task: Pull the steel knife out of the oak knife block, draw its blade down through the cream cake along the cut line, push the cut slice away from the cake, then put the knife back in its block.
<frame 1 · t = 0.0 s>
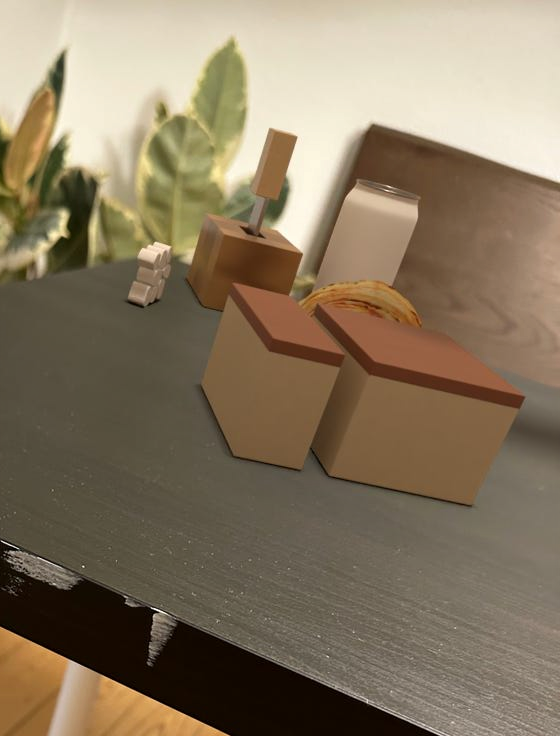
can: (335, 330, 88), on the table
croissant: (339, 372, 75), on the table
knife block: (231, 301, 87), on the table
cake: (328, 441, 59), on the table
knife: (256, 220, 84), in the knife block
marshmallow: (144, 303, 79), on the table
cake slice: (265, 371, 56), point 3 cm above the table, slide at 0.0 cm
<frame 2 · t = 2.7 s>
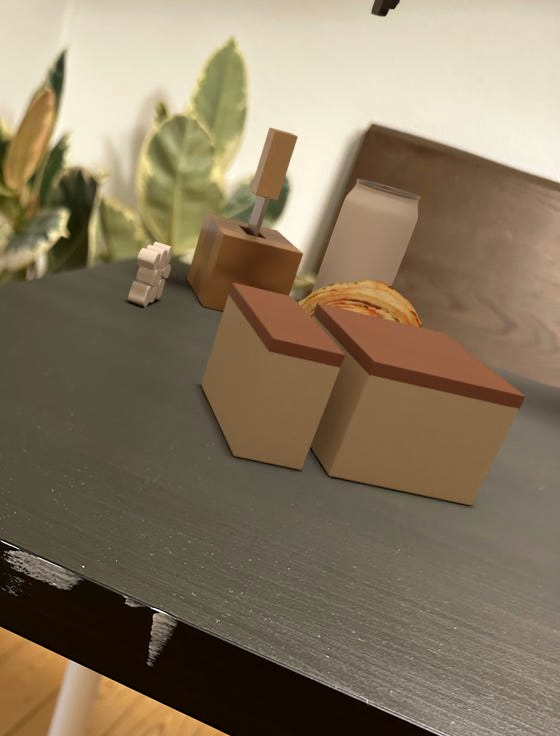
nothing on the table moved.
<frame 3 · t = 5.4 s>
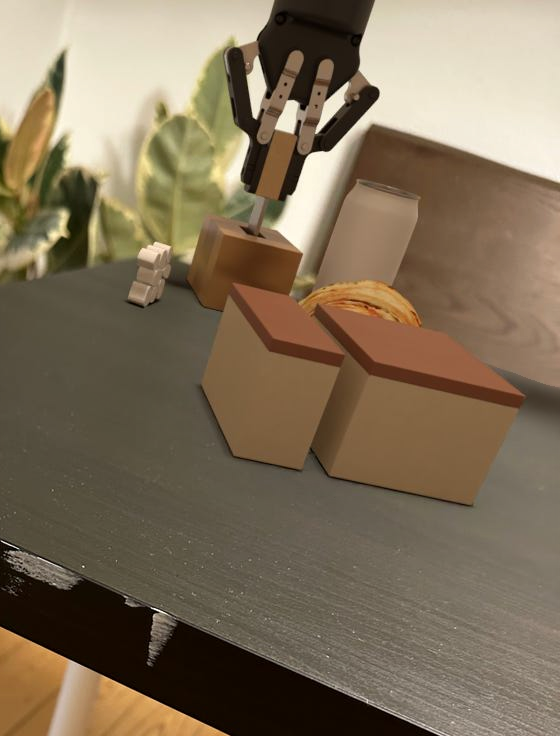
hand: (264, 194, 83), 9 cm above the table, tool pointing down, fingers closed on knife, 2 cm apart
knife: (256, 220, 84), in the knife block, touching gripper
everything else where it was.
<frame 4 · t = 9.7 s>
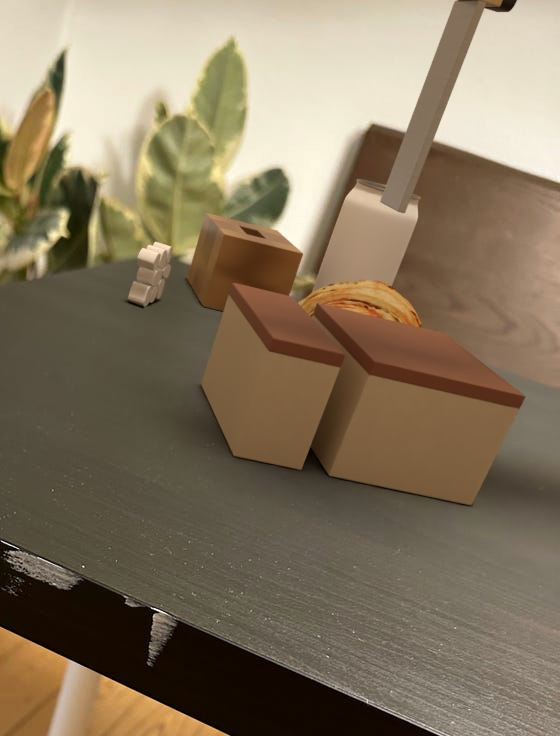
hand: (471, 0, 44), 22 cm above the table, tool pointing down, fingers closed on knife
knife: (451, 50, 45), point 20 cm above the table, touching gripper
everything else where it was.
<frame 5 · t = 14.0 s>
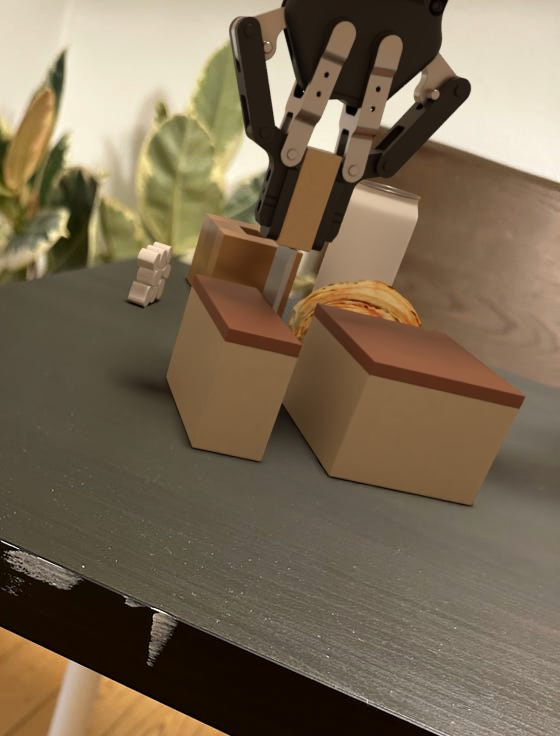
hand: (290, 241, 55), 10 cm above the table, tool pointing down, fingers closed on knife, 2 cm apart
knife: (277, 280, 56), point 8 cm above the table, touching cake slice, gripper
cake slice: (226, 362, 56), point 3 cm above the table, slide at 2.4 cm, touching knife
everything else where it was.
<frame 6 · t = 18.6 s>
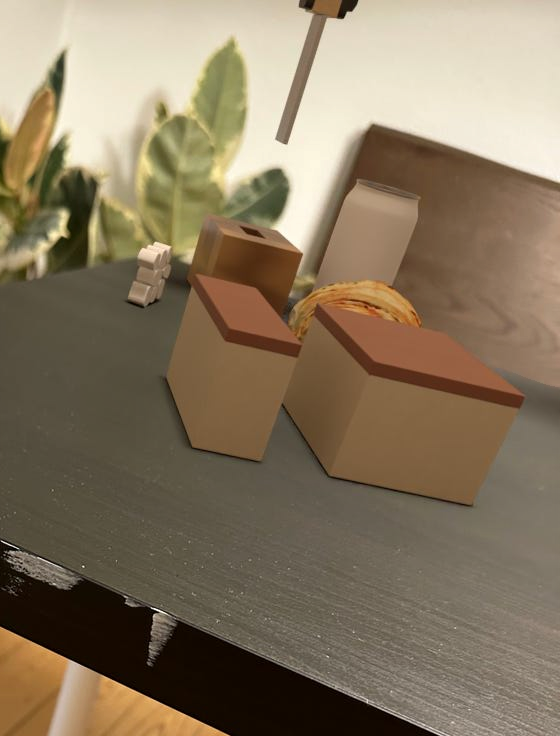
hand: (321, 12, 74), 22 cm above the table, tool pointing down, fingers closed on knife
knife: (311, 44, 75), point 20 cm above the table, touching gripper
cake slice: (226, 362, 56), point 3 cm above the table, slide at 2.4 cm
everything else where it was.
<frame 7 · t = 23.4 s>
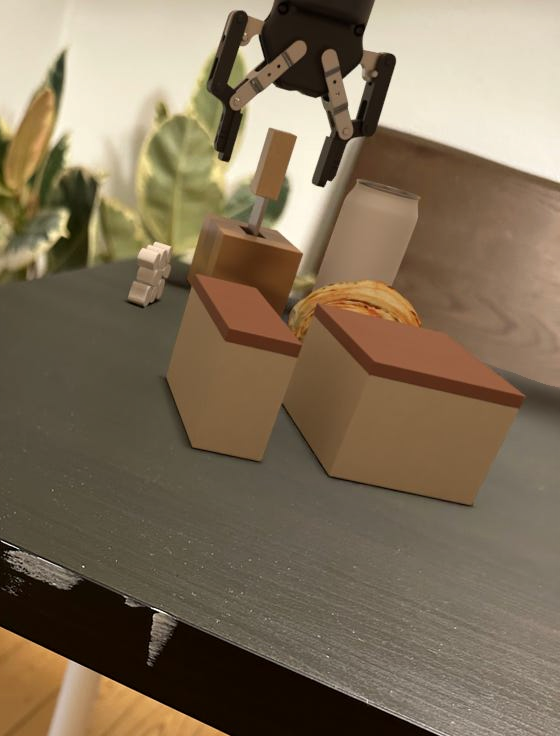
hand: (271, 173, 82), 11 cm above the table, tool pointing down, fingers open, 8 cm apart
knife: (255, 220, 84), in the knife block
everything else where it was.
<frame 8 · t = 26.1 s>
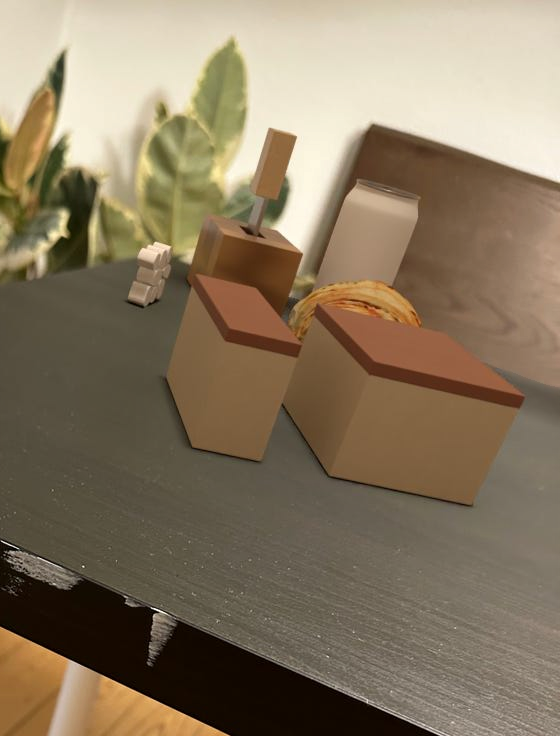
nothing on the table moved.
at the end: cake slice slide at 2.4 cm; knife 0.1 cm off-centre on the knife block, point 7.0 cm above the knife block's base; the gripper is holding nothing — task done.
